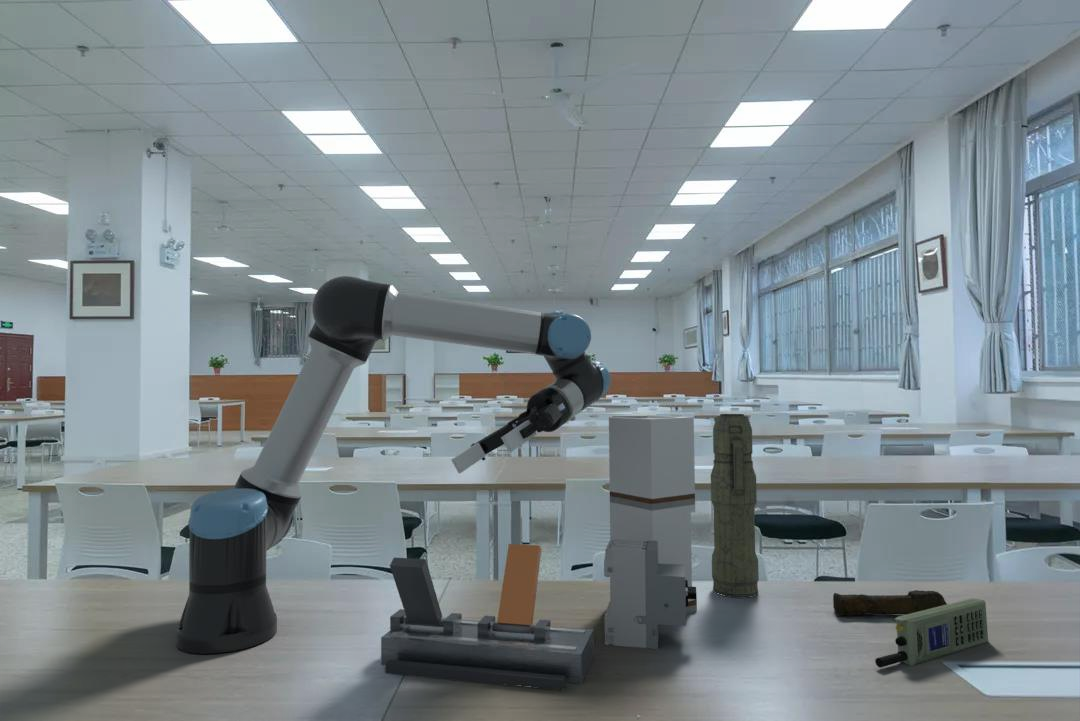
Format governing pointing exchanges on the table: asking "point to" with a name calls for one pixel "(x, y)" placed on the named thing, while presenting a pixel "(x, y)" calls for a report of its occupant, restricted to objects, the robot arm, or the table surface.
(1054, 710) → the table surface
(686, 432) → the white banded pillar
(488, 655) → the grey slotted holder
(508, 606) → the lever
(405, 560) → the lever on
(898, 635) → the handheld radio
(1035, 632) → the table surface
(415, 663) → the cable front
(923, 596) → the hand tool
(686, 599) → the circuit breaker
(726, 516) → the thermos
